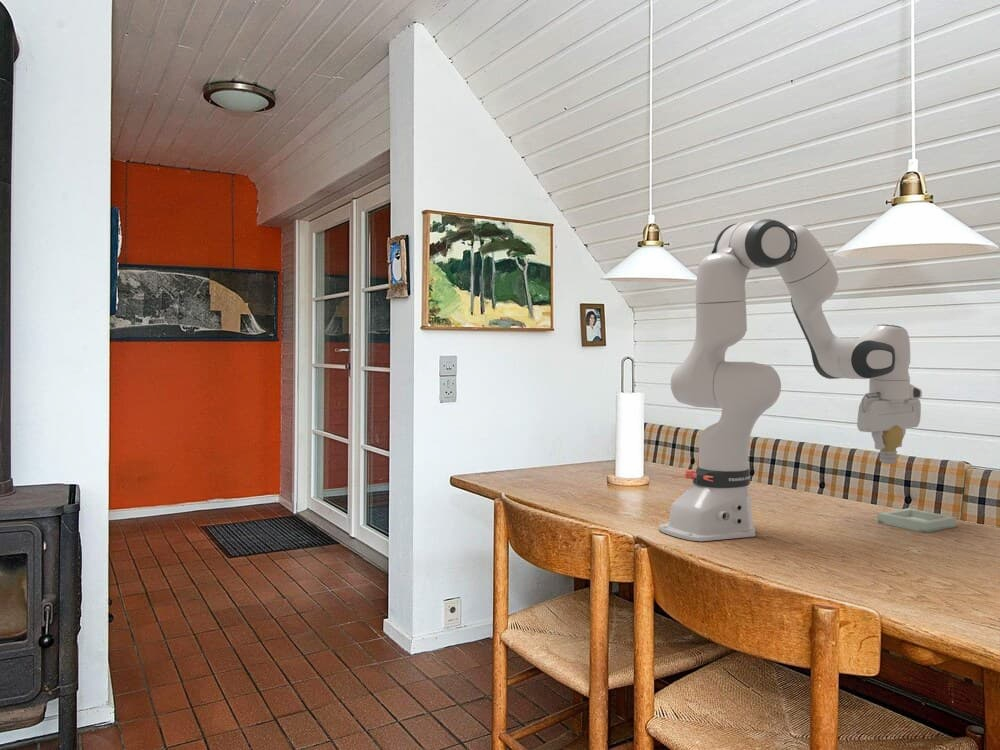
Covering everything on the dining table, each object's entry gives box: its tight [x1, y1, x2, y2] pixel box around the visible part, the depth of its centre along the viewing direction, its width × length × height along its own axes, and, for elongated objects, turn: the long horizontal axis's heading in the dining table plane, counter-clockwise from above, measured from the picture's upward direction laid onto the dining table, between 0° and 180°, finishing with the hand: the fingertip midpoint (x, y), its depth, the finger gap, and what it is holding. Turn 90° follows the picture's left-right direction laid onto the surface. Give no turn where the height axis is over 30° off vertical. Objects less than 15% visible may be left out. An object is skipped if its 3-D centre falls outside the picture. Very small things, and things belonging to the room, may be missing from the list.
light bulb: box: [879, 425, 904, 465], centre depth 189 cm, size 6×6×10 cm
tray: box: [877, 507, 958, 534], centre depth 184 cm, size 12×12×2 cm
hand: (888, 448), depth 189 cm, fingers closed on light bulb, 5 cm apart
